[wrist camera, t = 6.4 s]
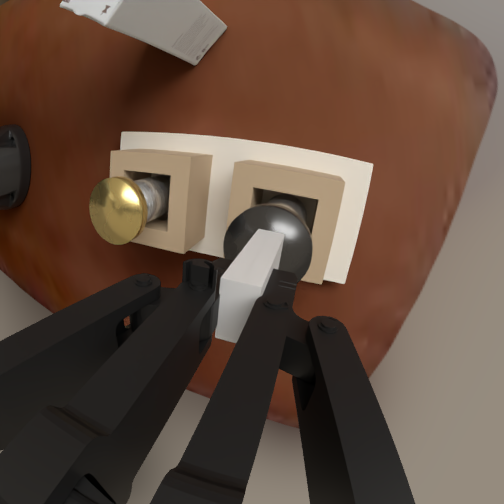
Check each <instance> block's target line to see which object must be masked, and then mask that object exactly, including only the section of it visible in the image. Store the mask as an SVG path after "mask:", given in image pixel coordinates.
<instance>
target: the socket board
mask: <svg viewBox="0 0 504 504" xmlns="http://www.w3.org/2000/svg"><path fill="white" fill-rule="evenodd" d="M372 169H373V164H371V163H367V162H363V161H359V160H355V159H350V158H346V157H342V156H337V155H332V154H328V153H323V152H318V151H313V150H307V149H302V148H296V147H291V146H285V145H278V144H272V143H265V142H258V141H251V140H243V139H234V138H225V137H216V136H205V135H192V134H178V133H158V132H122V134H121V145H120V150H116V151H111V160H110V178H111V177H116V176H123V177H127V178H129V179H131V180H132V181H136V180H140V179H144V178H149V177H153V176H157V175H162V174H165V175H171V180H170V194H169V210H168V213H166V214H164V215H162V216H160V217H158V218H156V219H153V220H151V221H149V222H147V223H146V225H145V228H144V230H143V231H142V233H141V234H140V235H139V236H138V237H137V238H135V239H133V240H131V242H135V243H139V244H143V245H148V246H152V247H156V248H160V249H164V250H169V251H173V252H177V253H181V254H184V253H186V252H187V251H188V250H190V251H195V252H199V253H204V254H208V255H213V256H217V257H222V258H225V257H224V251H223V242H224V237H225V234H226V231H227V229H228V227H229V225H230V224H231V222H232V221H233V220H234V219H235V218H236V217H237V216H239V215H240V214H241V213H242V212H243V211H245V210H246V209H248V208H250V207H252V206H255V205H258V204H265V203H267V202H268V201H269V200H270V199H271V198H273V197H274V196H276V195H279V194H290V195H293V196H295V197H297V198H298V199H299V200H300V201H301V202H302V203H303V204H304V206H305V208H306V212H307V219H306V225H307V226H308V228H309V231H310V233H311V237H312V242H313V251H312V260H311V264H310V267H309V269H308V271H307V272H306V274H305V276H304V277H303V278H302V279H301V280H302V281H307V282H312V283H316V284H321V285H322V282H323V280H328V281H333V282H337V283H342V284H345V280H346V277H347V273H348V270H349V266H350V263H351V259H352V256H353V252H354V248H355V244H356V240H357V237H358V233H359V229H360V225H361V220H362V216H363V212H364V207H365V203H366V199H367V194H368V189H369V184H370V179H371V174H372Z"/></svg>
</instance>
